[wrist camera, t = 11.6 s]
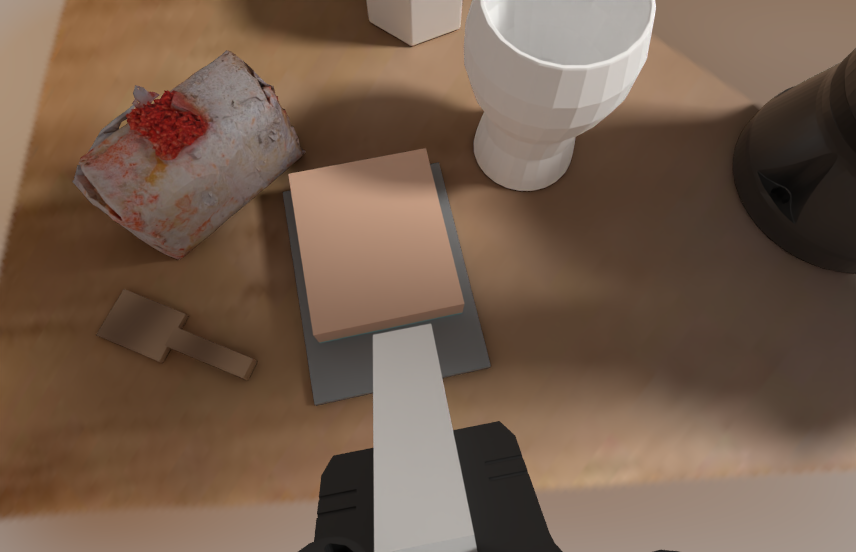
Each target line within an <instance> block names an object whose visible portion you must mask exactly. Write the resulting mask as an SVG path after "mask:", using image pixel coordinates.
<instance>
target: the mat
mask: <svg viewBox="0 0 856 552" xmlns="http://www.w3.org/2000/svg"><path fill="white" fill-rule="evenodd" d="M430 167H431V171H432V175H433V179H434V183H435V187H436V191H437V195H438V199H439V203H440V207H441V211H442V215H443V219H444V223H445V227H446V231H447V235H448V239H449V243H450V247H451V251H452V255H453V259H454V263H455V267H456V271H457V275H458V280H459V284H460V288H461V292H462V296H463V300H464V308H463V313H462V314H458V315H453V316H448V317H443V318H439V319H434V320H429V321H424V322H420V323H415V324H410V325H405V326H401V327H396V328H391V329H386V330H382V331H377V332H372V333H367V334H363V335H358V336H353V337H348V338H344V339H339V340H334V341H329V342H325V343H319V342H318V341H317V339H316V338H315V337H314V336H313V330H312V323H311V317H310V311H309V304H308V298H307V291H306V285H305V278H304V272H303V265H302V259H301V253H300V246H299V240H298V233H297V227H296V220H295V214H294V207H293V201H292V195H291V191H285V192H283V198H284V204H285V211H286V218H287V224H288V231H289V238H290V244H291V251H292V258H293V264H294V271H295V278H296V285H297V291H298V298H299V305H300V311H301V318H302V325H303V331H304V338H305V345H306V351H307V358H308V365H309V371H310V378H311V385H312V391H313V398H314V405H316V406H317V405H321V404H326V403H330V402H335V401H340V400H344V399H349V398H353V397H358V396H362V395H367V394H372V393H373V335H375V334H380V333H385V332H390V331H395V330H400V329H405V328H411V327H416V326H421V325H426V324H431V325H432V330H433V335H434V340H435V345H436V350H437V354H438V359H439V364H440V369H441V374H442V378H445V377H450V376H454V375H459V374H463V373H468V372H472V371H477V370H482V369H486V368H490V367H491V365H490V361H489V357H488V353H487V349H486V345H485V341H484V337H483V333H482V329H481V325H480V322H479V318H478V314H477V310H476V306H475V302H474V298H473V294H472V290H471V286H470V282H469V278H468V274H467V271H466V267H465V263H464V259H463V255H462V251H461V247H460V243H459V239H458V235H457V231H456V227H455V223H454V220H453V216H452V212H451V208H450V204H449V200H448V196H447V192H446V188H445V184H444V180H443V176H442V172H441V168H440V165H439V162H438V163H433V164H430Z"/></svg>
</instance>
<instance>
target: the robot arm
mask: <svg viewBox="0 0 856 552" xmlns="http://www.w3.org/2000/svg"><path fill="white" fill-rule="evenodd" d="M733 172H734V179H735V184H736V187H737V191H738V193H739V196H740V198H741V201H742V203H743V205H744V207H745V208H746V210H747V212H748V213H749V215H750V216H751V218H752V219H753V220H754V222H755V223H756V224H757V225H758V227H759V228H760V229H761V230H762V231H763V232H764V233H765V234H766V235H767V236H768V237H769V238H770V239H771V240H773V241H774V242H775V243H776V244H778V245H779V246H780V247H782V248H783V249H784V250H786V251H787V252H789V253H791V254H792V255H794V256H796V257H798V258H800V259H802V260H804V261H806V262H808V263H811V264H813V265H816V266H819V267H822V268H825V269H829V270H834V271H839V272H847V273H856V48H855V49H854V50H853V51H852V52H851V53H850V54H849V55H848V56H847V57H846V58H845V59H844V60H843V61H842V62H840V63H838V64H836V65H835V66H833V67H831V68H829V69H827V70H825V71H823V72H821V73H819V74H817V75H815V76H813V77H811V78H809V79H807V80H806V81H804V82H802V83H800V84H798V85H796V86H794V87H791V88H789V89H787V90H785V91H783V92H781V93H780V94H778V95H777V96H775V97H774V98H772V99H771V100H770V101H769V102H768V103H766V104H765V105H764V106H763V107H762V108H761V109H760V111H759V112H758V113H757V114H756V115H755V116H754V117H753V118H752V119H751V120H750V121H749V123H748V124H747V125H746V126H745V128H744V129H743V131H742V132H741V134H740V136H739V138H738V141H737V144H736V147H735V151H734V158H733ZM373 441H374V448H370V449H365V450H360V451H355V452H350V453H345V454H340V455H334V456H333V457H332V459H331V460H330V462H329V464H328V465H327V467H326V469H325V470H324V472H323V474H322V475H321V484H320V493H319V499H320V500H319V502H318V511H317V514H318V518H317V520H316V529H315V538H314V542H312V543H310V544H308V545H307V546H306V547H304V548H303V549H301V550H300V551H299V552H562V551H561V550H560V548H559V547H558V546H557V545H556V544H555V543H554V541H553V539H552V537H551V535H550V533H549V531H548V528H547V525H546V522H545V519H544V516H543V514H542V511H541V508H540V505H539V502H538V499H537V496H536V494H535V491H534V488H533V485H532V482H531V479H530V477H529V474H528V472H527V468H526V465H525V462H524V460H523V458H522V454H521V451H520V448H519V445H518V443H517V440H516V437H515V435H514V434H513V433H512V432H511V431H510V430H508V429H507V428H506V427H505V426H504V425H503V424H502V423H501V422H500V421H498V422H493V423H488V424H483V425H478V426H473V427H467V428H462V429H457V430H453V428H452V423H451V418H450V413H449V408H448V404H447V399H446V394H445V389H444V384H443V379H442V374H441V369H440V364H439V359H438V354H437V350H436V345H435V340H434V335H433V330H432V325H431V324H426V325H421V326H416V327H411V328H405V329H400V330H395V331H390V332H385V333H380V334H375V335H373ZM654 552H678V551H667V550H658V551H654Z"/></svg>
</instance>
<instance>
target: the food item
mask: <svg viewBox="0 0 856 552" xmlns="http://www.w3.org/2000/svg"><path fill="white" fill-rule="evenodd" d="M138 88H139V90H138ZM164 92H165V93H164V94H163V95H162V97H161V99H156V100H154V99H155V98H156V97H158V96H159V94H157V93H155V92H147V91H146V90H145V89H144V88H143V87H140V86H135V89H134V92H133V95H134V98H135V100H134V101H133V103H132V104H133V106H131V107H130V108H129V109H128V110H126V111H125V112H124V113H122V114H121V115H120V116H118V117H117V118H115V119H114V120H113V121H112V122H111V123H109V124H108V125H107V126H106V127H104V128H103V129H102V130H101V132H100V133H99V135H98V136H97V138H96V140H95V142H94V143H93V145H92V147H91V149H90V150H89V152H88V153H87V154H85V155H84V156H82V157H81V158H80V162H79V164H80V165H77V170H76V174H75V177H74V178H75V179H74V180H73V181H72V182H73V183H74V184H75V185H76V186H77V187H78V189H79V190H80V191H81V192H82V193H83V194H84V196H85V197H86V198H87V199H88V200H89V201H90V202H91V204H93V205H94V206H96V207H98V208H99V209H100V210H102V211H103V212H104V213H106V214H107V215H109V216H110V218H111V219H112V220H114V221H115V222H117V223H119V224H120V225H121V226H123V227H124V228H126V229H127V230H129V231H130V232H131V233H133V234H134V235H135V236H136V237H138V238H139V239H141V240H142V241H144V242H145V243H147V244H148V245H150V246H151V247H153V248H154V249H156V250H158V251H160V252H162V253H164V254H166V255H168V256H170V257H173V258H176V259H178V260H179V259H181V258H182V257H184V256H185V255H186V254H187V253H189V252H190V251H191V250H192V249H193V248H195V247H196V246H197V245H198V244H200V243H201V242H202V241H203V240H204V239H206V238H207V237H208V236H209V235H211V234H212V233H213V232H214V231H215V230H217V229H218V228H219V227H220V226H221V225H222V224H223V223H224V222H225V221H226V220H227V219H229V218H230V217H231V216H232V215H234V214H235V213H236V212H237V211H239V210H240V209H241V208H242V207H243V206H244V205H246V204H247V203H248V202H249V201H250V200H252V199H253V198H254V197H255V196H256V195H257V194H259V193H260V192H261V191H262V190H263V189H264V188H266V187H267V186H268V185H270V184H271V183H272V182H273V181H274V180H275V179H276V178H277V177H278V176H280V175H281V174H282V173H283V172H284V171H285V170H287V169H288V168H289V167H290V166H291V165H292V164H293V163H295V162H296V161H297V160H298V159H299V158H300V157H301V156H302V155H303V154H304V153H305V150H303V149H302V148H301V147H300V145H299V144H300V143H299V139H298V136H297V134H296V132H295V129H294V127H293V126H290V121H289V117H288V115H287V113H286V111H285V109H282V107H281V106H280V104H279V101H278V96H276V95H275V90H274V87H273V86H271V85H269V84H266V83H265V82H264V81H263V80H262V79H261V78H260V77H259V76H258V75H257V74H256V73H255V72H254V71H253V70H252V69H251V68H250V67H249V66H248V65H247V64H246V63H245V62H243V61H242V60H241V59H240V58H239V57H237V56H236V55H235V54H234V53H232V52H230V51H227V50H226V51H225V52H224V53H223V54H222V55H221V56H219V57H218V58H217V59H215V60H214V61H213V62H211V63H210V64H209V65H207V66H205V67H203V68H202V69H200V70H199V71H197V72H196V73H194V74H193V75H192V76H190V77H189V78H188V79H187V80H185V81H184V82H183V83H181V84H179V85H178V86H176V87H175V88H174V89H172V90H171V91H170V92H169V91H168V90H167V91H164ZM153 100H154V102H155V103H154V104H151V102H152V101H153ZM137 101H138V102H137ZM135 102H136V103H135ZM138 103H139V104H138ZM134 107H136V109H134ZM126 119H127V122H128V123H127V124H126V125H125V126H123V127H122V128H120V129H119V126H120V124H121V122H122V121H124V120H126Z"/></svg>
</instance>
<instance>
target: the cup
mask: <svg viewBox="0 0 856 552" xmlns="http://www.w3.org/2000/svg"><path fill="white" fill-rule="evenodd" d="M655 9H656V5H655V0H472V3H471V6H470V9H469V13H468V16H467V19H466V26H465V38H464V65H465V68H466V71H467V74H468V77H469V80H470V83H471V86H472V89H473V92H474V94H475V97H476V100H477V102H478V104H479V105H480V106H481V108H482V109H483V111H484V113H483V115H482V118H481V120H480V122H479V125H478V128H477V131H476V134H475V138H474V154H475V157H476V160H477V163H478V165H479V166H480V168H481V169H482V170H483V172H484V173H485V174H486V175H487V176H488V177H489V178H490V179H492V180H493V181H494V182H496V183H498V184H500V185H502V186H504V187H506V188H509V189H514V190H518V191H534V190H538V189H542V188H545V187H547V186H549V185H551V184H553V183H555V182H556V181H557V180H558V179H559V178H560V177H561V176H562V175H564V174H565V172H566V170H567V168H568V166H569V165H570V162H571V158H572V154H573V149H574V144H575V138H576V136H578V135H580V134H582V133H584V132H586V131H587V130H589V129H591V128H593V127H594V126H596V125H597V124H598V123H599V122H600V121H602V120H603V119H604V118H605V117H607V116H608V115H609V114H610V113H611V112H612V111H613V110H614V109H615V108H616V107H617V106H619V105H620V104H621V103H622V102H623V101H624V100H625V98H626V97H627V95H628V93H629V91H630V89H631V87H632V85H633V84H634V82H635V80H636V78H637V76H638V74H639V72H640V71H641V69H642V67H643V65H644V63H645V61H646V59H647V54H648V49H649V44H650V38H651V33H652V27H653V21H654V16H655Z"/></svg>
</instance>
